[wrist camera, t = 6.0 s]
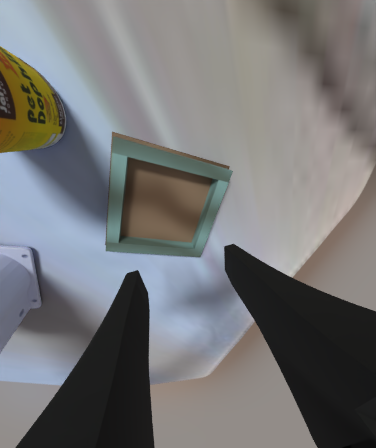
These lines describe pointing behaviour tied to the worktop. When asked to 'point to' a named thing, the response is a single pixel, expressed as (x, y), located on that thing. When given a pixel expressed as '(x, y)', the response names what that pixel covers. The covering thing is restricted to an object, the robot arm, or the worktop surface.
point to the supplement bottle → (27, 107)
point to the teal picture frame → (161, 199)
